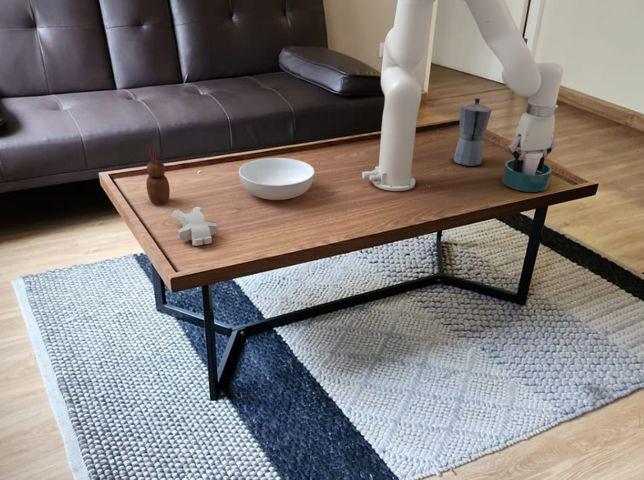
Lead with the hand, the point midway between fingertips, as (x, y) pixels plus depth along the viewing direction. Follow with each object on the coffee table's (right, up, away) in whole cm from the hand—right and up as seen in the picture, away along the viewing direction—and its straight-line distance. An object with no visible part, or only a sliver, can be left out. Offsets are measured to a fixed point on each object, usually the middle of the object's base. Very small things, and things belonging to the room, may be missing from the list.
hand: (527, 170), depth 189 cm
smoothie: (0, -3, +2) cm, 4 cm away
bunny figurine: (-91, -22, -31) cm, 99 cm away
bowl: (0, -4, +2) cm, 4 cm away
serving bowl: (-73, -8, -8) cm, 74 cm away
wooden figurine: (-104, -12, -15) cm, 106 cm away
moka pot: (-14, +5, +16) cm, 22 cm away
